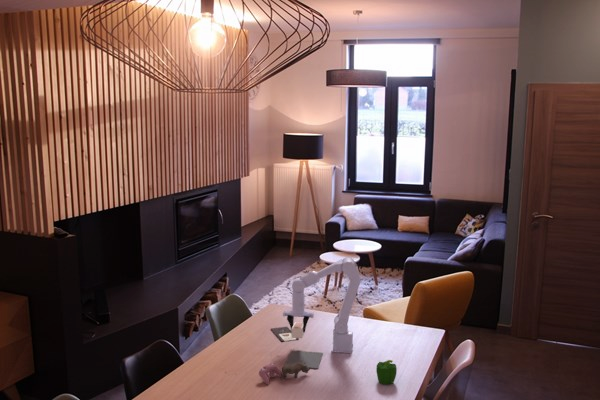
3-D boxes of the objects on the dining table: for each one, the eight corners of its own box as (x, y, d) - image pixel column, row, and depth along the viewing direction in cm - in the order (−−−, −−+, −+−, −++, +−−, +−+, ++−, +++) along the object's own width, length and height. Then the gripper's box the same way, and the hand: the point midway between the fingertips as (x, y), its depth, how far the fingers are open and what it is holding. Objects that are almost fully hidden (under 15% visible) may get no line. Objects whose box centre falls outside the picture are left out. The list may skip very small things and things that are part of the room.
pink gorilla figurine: (276, 378, 242) (271, 362, 243) (284, 376, 239) (278, 360, 240) (261, 386, 234) (255, 369, 235) (268, 384, 231) (262, 367, 232)
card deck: (301, 338, 264) (302, 328, 263) (291, 337, 265) (291, 328, 264) (304, 331, 272) (305, 322, 271) (294, 331, 273) (294, 321, 272)
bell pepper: (371, 382, 234) (372, 359, 233) (383, 376, 240) (384, 353, 239) (387, 389, 229) (388, 365, 227) (399, 382, 234) (400, 359, 233)
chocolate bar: (286, 326, 297) (298, 338, 280) (286, 328, 297) (298, 340, 280) (270, 328, 294) (281, 340, 277) (270, 330, 294) (281, 342, 277)
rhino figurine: (312, 376, 240) (312, 362, 239) (281, 381, 235) (281, 367, 235) (309, 372, 244) (309, 359, 243) (278, 377, 239) (278, 363, 238)
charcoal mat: (323, 353, 263) (323, 352, 263) (317, 369, 247) (317, 368, 247) (291, 351, 266) (291, 350, 266) (284, 366, 249) (284, 365, 249)
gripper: (314, 301, 269) (314, 329, 271) (285, 300, 271) (285, 327, 273) (312, 306, 262) (312, 334, 264) (282, 304, 264) (282, 332, 266)
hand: (298, 331), depth 268 cm, fingers closed on card deck, 5 cm apart
